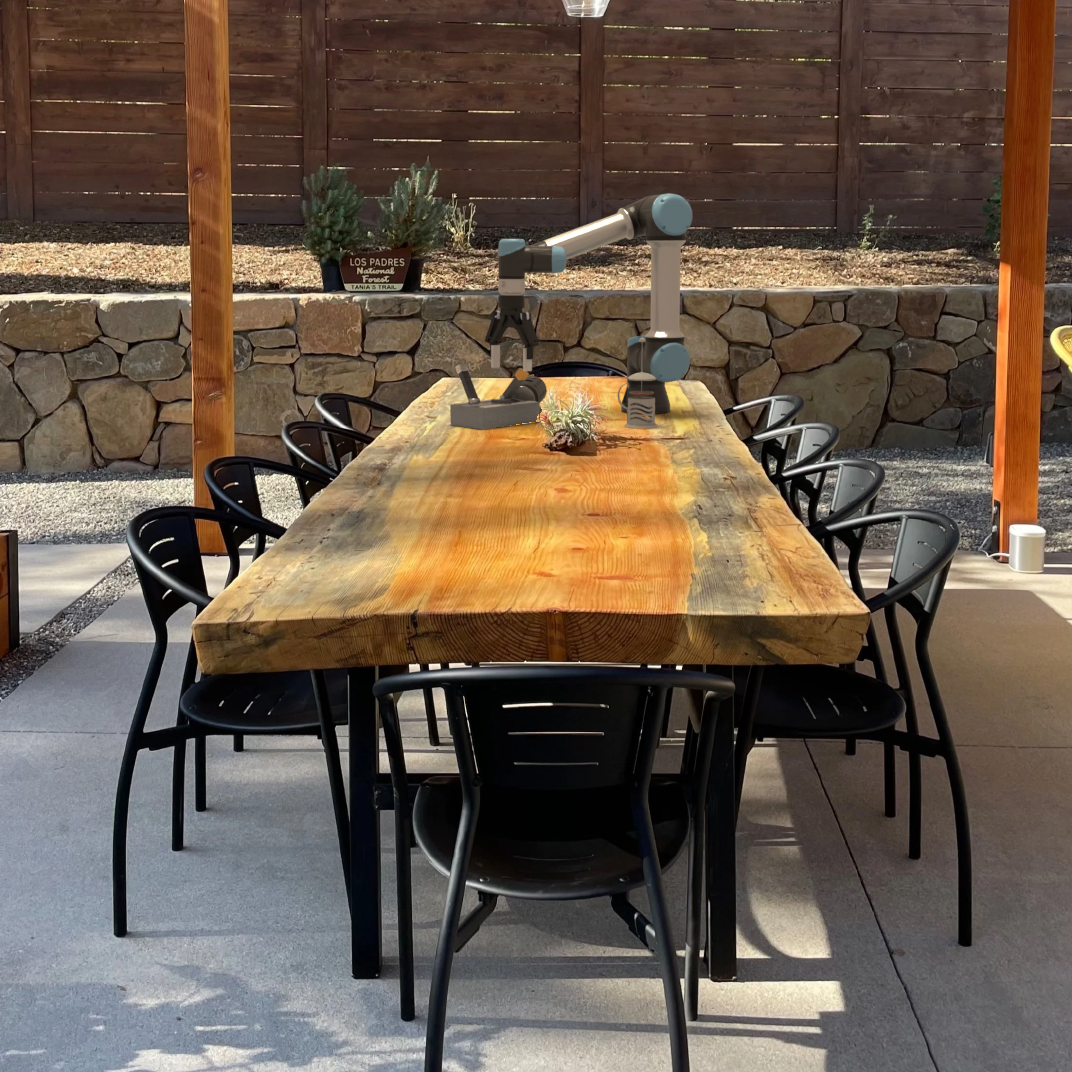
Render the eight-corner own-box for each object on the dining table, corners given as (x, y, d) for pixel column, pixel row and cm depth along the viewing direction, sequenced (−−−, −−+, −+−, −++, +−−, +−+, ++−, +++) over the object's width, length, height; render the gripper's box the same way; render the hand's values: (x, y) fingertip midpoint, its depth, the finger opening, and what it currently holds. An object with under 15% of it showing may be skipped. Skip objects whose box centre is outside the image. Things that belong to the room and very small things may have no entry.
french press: (656, 429, 381) (657, 339, 376) (615, 428, 383) (616, 338, 378) (660, 424, 390) (661, 336, 385) (620, 423, 393) (621, 336, 387)
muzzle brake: (547, 407, 432) (547, 375, 430) (537, 419, 405) (537, 384, 402) (517, 407, 433) (517, 374, 431) (505, 418, 406) (505, 384, 403)
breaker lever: (506, 396, 396) (526, 369, 388) (509, 402, 396) (529, 374, 388) (498, 397, 394) (518, 370, 386) (501, 402, 394) (521, 375, 386)
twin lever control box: (507, 418, 405) (506, 359, 402) (539, 422, 396) (539, 362, 392) (450, 425, 391) (449, 364, 387) (482, 429, 381) (481, 367, 377)
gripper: (472, 293, 392) (473, 367, 397) (531, 295, 374) (531, 373, 379) (492, 292, 397) (492, 365, 402) (551, 295, 380) (550, 371, 384)
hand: (511, 369), depth 390 cm, fingers open, 13 cm apart
